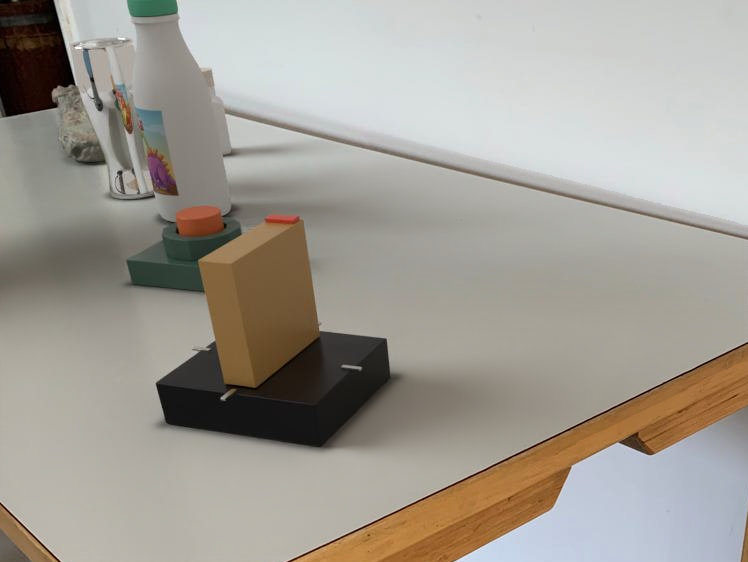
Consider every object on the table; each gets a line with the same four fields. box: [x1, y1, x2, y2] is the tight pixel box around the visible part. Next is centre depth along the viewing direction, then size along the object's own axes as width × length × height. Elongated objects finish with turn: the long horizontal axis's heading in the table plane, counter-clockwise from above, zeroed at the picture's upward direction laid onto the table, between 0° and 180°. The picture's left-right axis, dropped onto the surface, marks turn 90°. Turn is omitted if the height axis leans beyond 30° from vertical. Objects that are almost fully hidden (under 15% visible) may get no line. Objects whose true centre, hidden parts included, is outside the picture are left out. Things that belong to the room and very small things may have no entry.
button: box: [175, 206, 224, 236], centre depth 88 cm, size 4×4×2 cm
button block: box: [125, 216, 243, 292], centre depth 89 cm, size 11×9×4 cm
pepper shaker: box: [200, 67, 232, 156], centre depth 124 cm, size 4×4×10 cm
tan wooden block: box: [198, 213, 321, 388], centre depth 65 cm, size 9×2×8 cm, turn 159°
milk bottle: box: [126, 0, 232, 223], centre depth 99 cm, size 8×8×20 cm
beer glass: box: [69, 37, 155, 200], centre depth 109 cm, size 7×7×15 cm
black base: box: [155, 321, 391, 448], centre depth 68 cm, size 13×13×3 cm
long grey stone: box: [51, 84, 106, 163], centre depth 136 cm, size 35×5×10 cm
